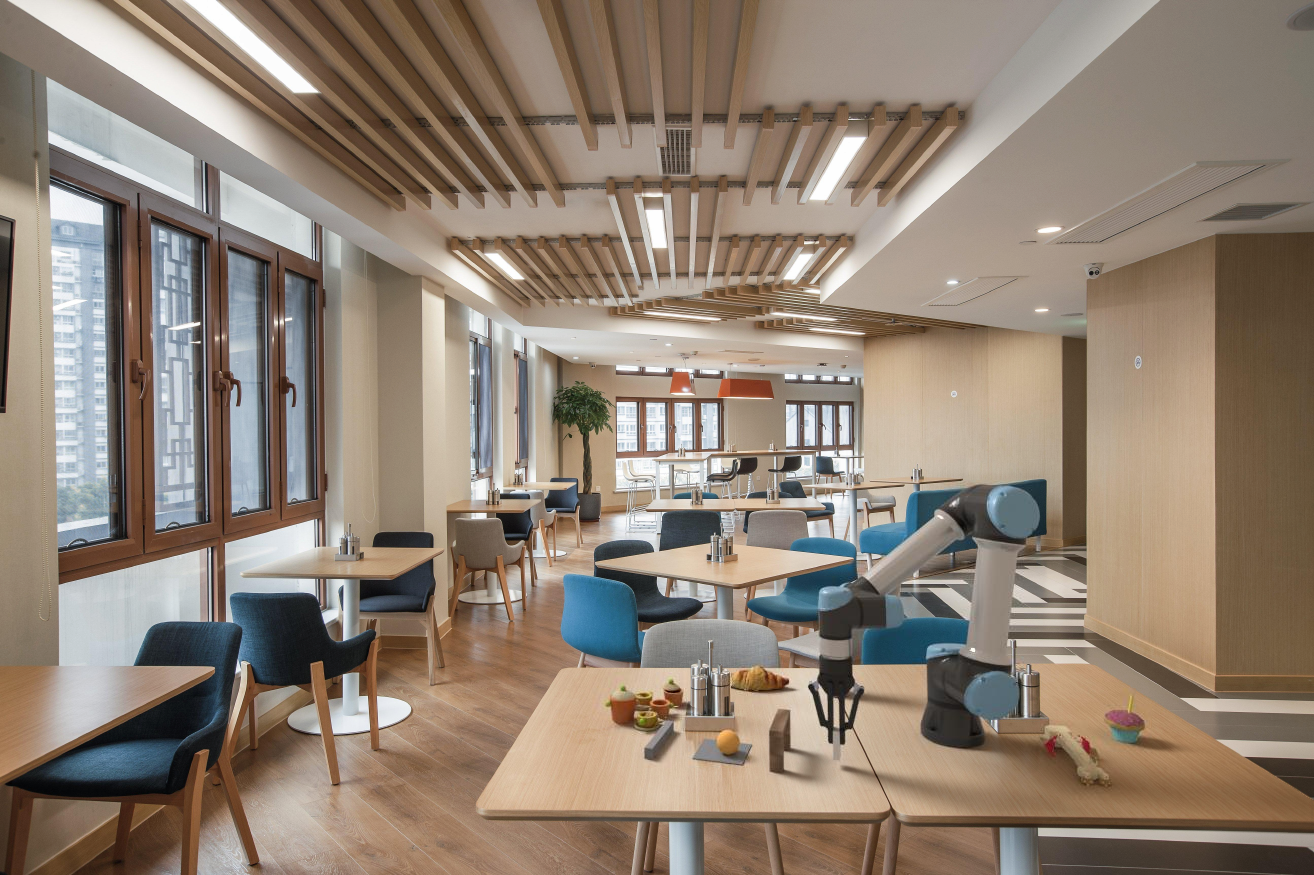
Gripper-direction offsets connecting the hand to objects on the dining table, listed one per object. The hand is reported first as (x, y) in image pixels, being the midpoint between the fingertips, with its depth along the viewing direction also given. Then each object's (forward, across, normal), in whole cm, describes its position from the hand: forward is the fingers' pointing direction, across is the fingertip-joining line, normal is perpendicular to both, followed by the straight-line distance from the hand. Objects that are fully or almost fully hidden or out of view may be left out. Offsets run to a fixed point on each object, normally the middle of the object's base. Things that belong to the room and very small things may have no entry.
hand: (836, 757), depth 163 cm
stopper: (+2, +43, 0) cm, 43 cm away
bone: (+3, -52, -19) cm, 56 cm away
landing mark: (+2, +27, 0) cm, 27 cm away
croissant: (+2, +28, -50) cm, 58 cm away
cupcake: (+2, -68, -36) cm, 77 cm away
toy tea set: (+3, +52, -19) cm, 56 cm away
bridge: (+2, +13, 0) cm, 13 cm away
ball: (-1, +25, +1) cm, 25 cm away
